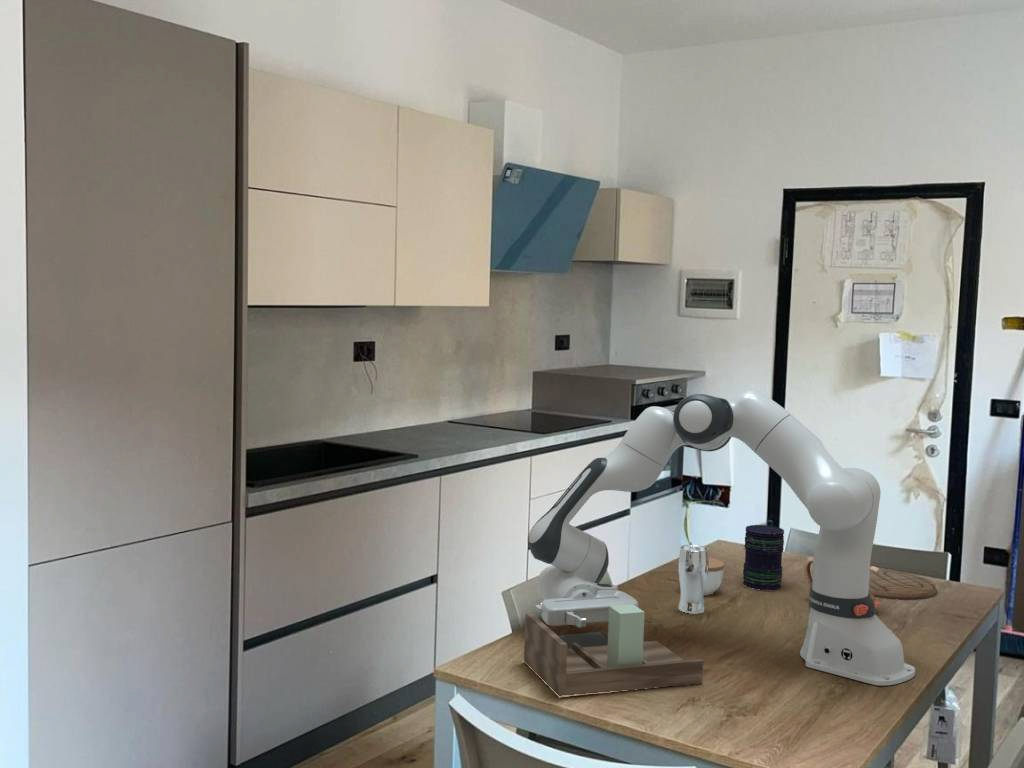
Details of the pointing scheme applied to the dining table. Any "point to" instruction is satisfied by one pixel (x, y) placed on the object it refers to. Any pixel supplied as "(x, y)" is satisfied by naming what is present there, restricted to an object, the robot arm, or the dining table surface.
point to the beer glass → (692, 577)
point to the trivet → (900, 585)
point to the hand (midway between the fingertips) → (604, 621)
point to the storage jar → (763, 557)
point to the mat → (585, 639)
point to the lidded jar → (714, 576)
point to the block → (625, 635)
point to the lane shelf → (601, 665)
